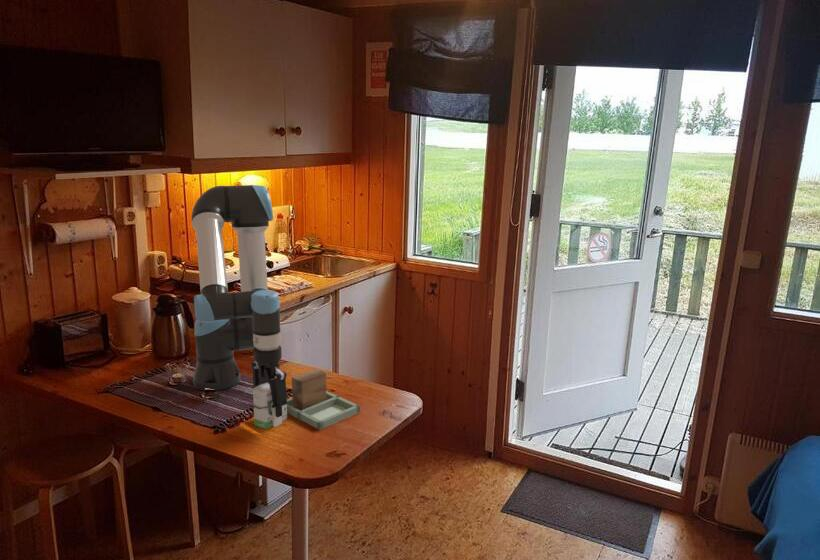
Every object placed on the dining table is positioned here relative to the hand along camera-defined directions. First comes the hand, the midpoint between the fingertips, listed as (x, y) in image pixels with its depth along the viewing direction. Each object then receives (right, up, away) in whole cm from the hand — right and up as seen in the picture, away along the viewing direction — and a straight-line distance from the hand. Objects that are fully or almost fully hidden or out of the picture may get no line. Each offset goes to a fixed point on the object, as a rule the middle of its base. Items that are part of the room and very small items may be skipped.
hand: (271, 422), depth 173 cm
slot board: (+13, +1, +7) cm, 15 cm away
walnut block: (+9, +3, +10) cm, 14 cm away
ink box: (0, -1, 0) cm, 1 cm away
